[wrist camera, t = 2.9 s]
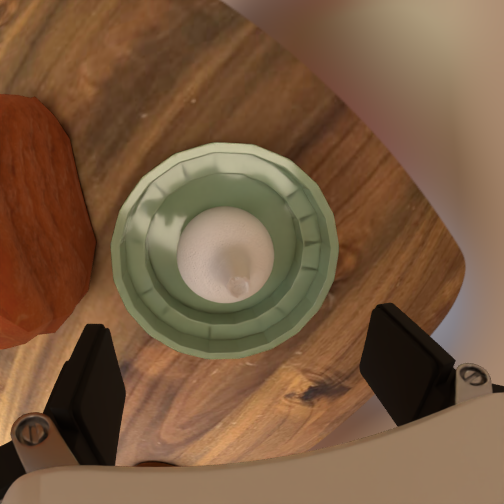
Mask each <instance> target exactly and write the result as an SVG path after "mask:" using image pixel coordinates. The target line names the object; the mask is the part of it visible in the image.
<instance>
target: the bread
mask: <svg viewBox="0 0 504 504" xmlns="http://www.w3.org/2000/svg"><path fill="white" fill-rule="evenodd" d="M95 246H96V240H95V237H94V233H93V230H92V227H91V223H90V220H89V217H88V213H87V210H86V206H85V202H84V199H83V195H82V191H81V187H80V183H79V179H78V175H77V170H76V166H75V162H74V157H73V152H72V147H71V142H70V139H69V137H68V136H67V134H66V133H65V131H64V130H63V128H62V127H61V125H60V124H59V122H58V121H57V119H56V118H55V116H54V115H53V114H52V113H51V112H50V111H49V110H48V109H47V108H46V107H45V106H44V105H43V104H42V103H41V102H40V101H39V100H38V99H37V98H36V97H32V98H28V97H24V96H20V95H8V94H0V349H6V348H10V347H14V346H18V345H22V344H25V343H27V342H28V341H30V340H31V339H33V338H34V337H35V336H37V335H39V334H47V333H55V332H56V331H57V330H58V329H59V327H60V326H61V325H62V324H63V323H64V322H65V321H66V319H67V318H68V317H69V316H70V315H71V314H72V312H73V310H74V308H75V306H76V305H77V304H78V303H79V302H80V300H81V299H82V298H83V297H84V295H85V294H86V293H87V292H88V290H89V283H90V277H91V271H92V265H93V258H94V252H95Z"/></svg>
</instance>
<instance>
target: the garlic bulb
mask: <svg viewBox="0 0 504 504" xmlns="http://www.w3.org/2000/svg"><path fill="white" fill-rule="evenodd" d="M273 263H274V248H273V243H272V240H271V237H270V235H269V233H268V231H267V229H266V228H265V226H264V225H263V224H262V223H261V222H260V221H259V220H258V219H257V218H256V217H255V216H253V215H252V214H250V213H248V212H247V211H245V210H242V209H240V208H235V207H230V206H220V207H214V208H211V209H208V210H205V211H203V212H201V213H200V214H198V215H197V216H196V217H194V218H193V219H192V220H191V221H190V222H189V223H188V224H187V226H186V227H185V229H184V230H183V232H182V234H181V236H180V239H179V243H178V247H177V264H178V269H179V272H180V274H181V276H182V278H183V280H184V282H185V283H186V284H187V286H188V287H189V288H190V289H191V290H192V291H193V292H195V293H196V294H197V295H199V296H201V297H202V298H204V299H207V300H209V301H213V302H217V303H234V302H238V301H242V300H244V299H246V298H249V297H250V296H252V295H253V294H255V293H256V292H258V291H259V290H260V289H261V288H262V287H263V285H264V284H265V283H266V281H267V280H268V278H269V276H270V274H271V271H272V268H273Z"/></svg>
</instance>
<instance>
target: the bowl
mask: <svg viewBox="0 0 504 504" xmlns="http://www.w3.org/2000/svg"><path fill="white" fill-rule="evenodd" d="M220 206H230V207H235V208H240V209H242V210H245V211H247V212H248V213H250V214H252V215H253V216H255V217H256V218H257V219H258V220H259V221H260V222H261V223H262V224H263V225H264V226H265V228H266V229H267V231H268V233H269V235H270V237H271V240H272V243H273V248H274V263H273V268H272V271H271V274H270V276H269V278H268V280H267V281H266V283H265V284H264V285H263V287H262V288H261V289H260V290H259V291H258V292H256V293H255V294H253V295H252V296H250V297H249V298H246V299H244V300H242V301H238V302H234V303H217V302H213V301H209V300H207V299H204V298H202V297H201V296H199V295H197V294H196V293H195V292H193V291H192V290H191V289H190V288H189V287H188V286H187V284H186V283H185V282H184V280H183V278H182V276H181V274H180V272H179V269H178V264H177V247H178V243H179V239H180V236H181V234H182V232H183V230H184V229H185V227H186V226H187V224H188V223H189V222H190V221H191V220H192V219H193V218H194V217H196V216H197V215H198V214H200V213H201V212H203V211H205V210H208V209H211V208H214V207H220ZM110 247H111V260H112V271H113V279H114V282H115V285H116V287H117V289H118V292H119V294H120V296H121V298H122V301H123V303H124V305H125V307H126V309H127V310H128V312H129V313H130V315H131V316H132V317H133V318H134V319H135V320H136V321H137V322H138V323H139V325H140V326H141V327H142V328H143V329H144V330H145V331H146V332H147V333H148V334H149V335H150V336H152V337H153V338H155V339H157V340H158V341H160V342H162V343H163V344H165V345H167V346H168V347H170V348H172V349H174V350H175V351H177V352H180V353H184V354H188V355H192V356H196V357H200V358H204V359H240V358H244V357H247V356H251V355H254V354H257V353H261V352H264V351H267V350H270V349H273V348H274V347H276V346H278V345H279V344H281V343H282V342H284V341H286V340H287V339H289V338H290V337H292V336H294V335H295V334H297V333H298V332H299V331H300V330H301V329H302V328H303V327H304V326H305V325H306V323H307V322H308V321H309V320H310V319H311V318H312V317H313V316H314V315H315V314H316V312H317V311H318V310H319V309H320V308H321V306H322V304H323V302H324V300H325V298H326V296H327V294H328V291H329V289H330V287H331V285H332V283H333V281H334V278H335V272H336V265H337V259H338V253H339V243H338V237H337V231H336V224H335V219H334V214H333V212H332V210H331V208H330V206H329V205H328V203H327V201H326V199H325V197H324V195H323V193H322V192H321V190H320V188H319V186H318V184H317V183H316V182H315V181H314V180H312V179H311V178H310V177H309V176H308V175H307V174H306V173H305V172H304V171H303V170H302V169H300V168H299V167H298V166H297V165H296V164H295V163H294V162H293V161H291V160H289V159H288V158H286V157H284V156H281V155H279V154H277V153H274V152H272V151H269V150H267V149H265V148H262V147H260V146H257V145H254V144H242V143H223V142H214V143H213V142H212V143H209V144H205V145H202V146H198V147H195V148H191V149H188V150H185V151H181V152H178V153H176V154H173V155H172V156H170V157H169V158H168V159H166V160H165V161H163V162H162V163H161V164H159V165H158V166H156V167H155V168H154V169H152V170H151V171H149V172H148V173H147V174H145V175H144V176H143V177H142V178H141V179H140V180H139V182H138V183H137V185H136V186H135V188H134V189H133V190H132V192H131V193H130V195H129V196H128V198H127V199H126V201H125V202H124V204H123V205H122V207H121V208H120V210H119V214H118V217H117V221H116V225H115V228H114V232H113V236H112V240H111V246H110Z"/></svg>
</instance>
